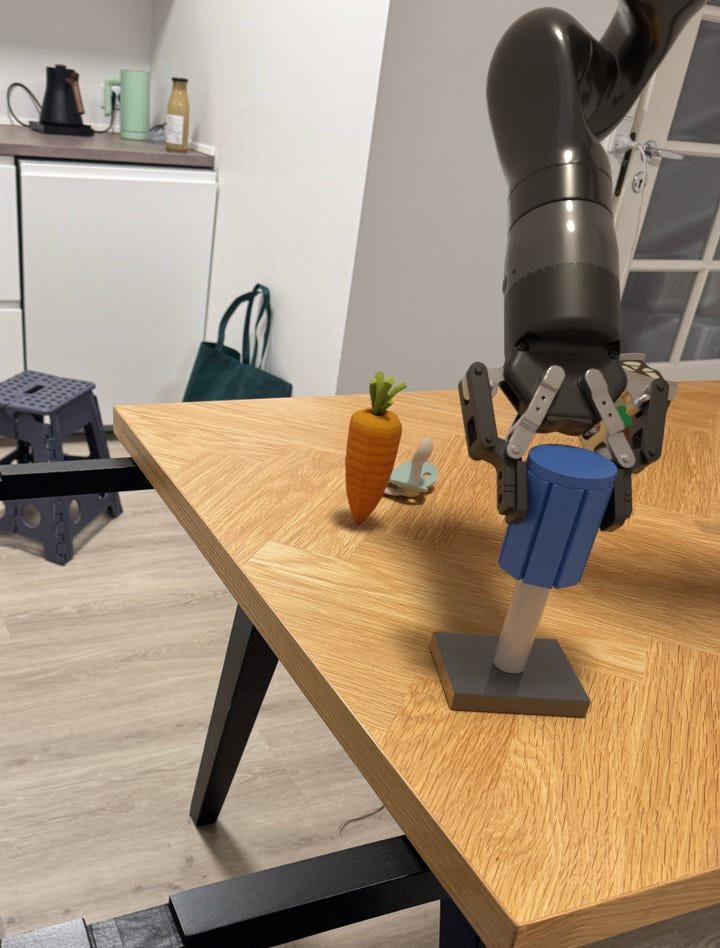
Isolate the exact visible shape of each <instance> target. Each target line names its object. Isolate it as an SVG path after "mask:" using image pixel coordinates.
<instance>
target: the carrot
mask: <svg viewBox="0 0 720 948" xmlns="http://www.w3.org/2000/svg"><path fill="white" fill-rule="evenodd" d="M384 379H385V380H384ZM395 381H396V379H394V378H393V377H392V376H387V377H386V378H385V372H383V371H377V372H375V375H374V378H372V379H370V380H369V385H368V387H369V388H368V389H369V396H370V402H371V407H365V408H363V409H359V410H356V411H355V412H353V413H352V415H351V417H350V420H349V426H348V433H347V441H346V449H345V459H344V471H345V472H344V473H345V475H344V476H345V477H344V478H345V491H346V497H347V502H348V506H349V509H350V513H351V515H352V519H353V521H354V522H355V523H356V524H357V525H361V524H363V523H364V522H366V520H367V519H368V518H369V517H370V516H371V514H373V512H374V511H375V510H376V508H377V506H378V505H379V503H380V502H381V500H382V498H383V496H384V494H385V493H384V491H385V489H386V487H388V484H389V483H390V482H389V479H390V477H391V474H392V471H393V469H395V464H396V460H397V456H398V451H399V447H400V444H401V439H402V434H403V425H402V422H401V420H400V418H399V416H398V414H397V413H395V412H393V411H390V410H388V409H389V408H390V407H391V406H393V405H394V401H393V400H392V399H393V398H394V397H395V396H396V395H397V394H398V393H399V392H401V391H403V390H405V389H406V388H408V385H407V383H405V382H401V383H399V384H397V385H396V386H394V387H393V385H394V383H395ZM392 387H393V388H392Z"/></svg>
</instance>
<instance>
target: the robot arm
mask: <svg viewBox="0 0 720 948" xmlns="http://www.w3.org/2000/svg"><path fill="white" fill-rule="evenodd" d="M706 1H707V2H710V1H711V0H617V7H616V10H615V12H614V15H613V16H612V18H611V20H610V22H609V24H608V26H607V27H606V30H605V31H604V33H603V35H602V36H601V37H600V39H599V40H598V39H597V38H596V37H595V36H594V35H593V34H591V32H589V31H588V30H587V28H586V27H585V26H584V25H583V24H582V23H581V22H579V20H578V19H577V18H576V17H575V16H573V15H572V14H571V13H569V12H567V11H565V10H564V9H561V8H557V7H553V6H543V7H538V8H535V9H531V10H529V11H527V12H526V13H523V14H522V15H520V16H519V17H518V18H517V19H516V20H515V21H513V22H512V23H511V24H510V26H508V28H507V29H506V30H505V31H504V33H503V34H502V36H501V38H500V39H499V41H498V42H497V44H496V46H495V48H494V51H493V53H492V55H491V58H490V61H489V65H488V68H487V69H488V70H487V73H486V74H487V75H486V80H485V81H486V82H485V102H486V103H485V105H486V112H487V117H488V122H489V126H490V130H491V135H492V138H493V143H494V147H495V150H496V155H497V158H498V159H497V160H498V162H499V165H500V169H501V171H502V174H503V176H504V177H503V178H504V180H505V184H506V189H507V196H506V197H507V198H506V222H507V223H506V230H507V231H506V235H507V239H506V250H505V256H504V262H503V279H502V285H501V292H502V296H503V356H504V363H503V366H502V367H491V368H490V367H489V368H488V367H487V365H486V364H485V363H483V362H481V361H474V362H472V363H471V365H470V366H469V367H468V369H467V370H466V371H465V373H464V374H463V375H462V377H461V378H460V379H459V381H458V384H457V389H458V397H459V404H460V409H461V416H462V422H463V423H462V424H463V428H464V429H463V430H464V435H465V441H466V442H465V443H466V449H467V454H468V457H469V458H470V459H471V460H472V461H474V462H480V461H483V462H485V463H488V464H490V465H492V467H493V468H494V469H495V472H496V509H497V512H498V514H499V515H500V516H504V522H505V524H506V525H507V524H514V525H517V524H519V523H520V522H521V521H522V520H524V519H525V518H526V516H527V513H528V473H527V461H526V460H523V457H524V456H525V454H526V452H527V450H528V448H529V446H530V444H531V442H532V440H533V438H534V436H535V434H542V435H543V434H544V435H547V434H552V433H553V434H554V433H559V434H562V435H564V436H567V437H568V436H569V437H577V438H578V440H579V442H580V445H581V446H582V448H584V449H587V450H590V451H593V452H596V453H598V454H600V455H602V456H604V457H606V458H608V459H609V460H611V461H612V462H613V463H614V464H615V465H616V467H617V474H616V477H615V479H614V482H613V484H614V487H613V490H612V493H611V496H610V499H609V501H608V504H607V507H606V510H605V513H604V516H603V518H602V521H601V524H600V527H599V531H600V532H606V533H613V532H616V531H617V530H618V529H620V528H621V527H623V526H624V525H625V523H626V520H628V519H630V518H631V516H632V513H633V511H634V510H633V483H632V474H633V475H637V474H640V473H641V472H642V471H644V470H645V469H646V468H648V467H649V466H650V465H651V464H653V463H656V461H658V460H659V459H660V458H661V457H662V452H663V444H664V436H665V428H666V419H667V412H668V410H667V403H668V394H669V384H668V382H667V381H666V380H667V379H665V378H664V379H662V378H657V379H655V380H654V381H652V382H651V383H644V382H640V381H636V380H631V379H627V375H626V373H625V371H624V369H623V367H622V365H621V363H620V354H621V349H622V310H621V279H620V278H621V277H620V254H619V244H618V239H617V234H616V230H615V221H614V220H615V217H614V184H613V173H612V172H613V171H612V165H611V161H610V158H609V155H608V153H607V151H606V149H605V147H604V146H603V144H602V143H601V142H603V141H605V140H606V139H607V138H608V137H609V136H610V135H611V134H612V133H613V132H614V131H615V130H616V129H617V127H618V126H620V124H621V123H622V122H623V121H624V119H625V118H626V116H627V115H628V113H630V111H631V109H632V108H633V107H634V105H635V103H636V102H637V101H638V99H639V98H640V96H641V95H642V93H643V92H644V90H645V88H646V86H648V84H649V83H650V81H651V79H652V78H653V76H654V75H655V74H656V72H657V71H658V69H659V67H660V66H661V65H662V64H663V62H664V60H665V59H666V57H667V56H668V55H669V53H670V51H671V50H672V48H673V46H674V45H675V43H676V42H677V40H678V38H680V35H681V34H682V33H683V31H684V30H685V28H686V26H687V25H688V24H689V22H691V20H692V19H693V18H694V17H695V16H696V15H697V14H698V13H699V12H700V11H701V10H702V9H703V8H704V7H705V6H707V2H706ZM498 388H499V390H501V392H502V394H503V395H504V396H505V398H506V399H507V400H508V402H509V403H510V405H511V406H512V407H513V409H514V410H515V412H516V414H515V416H514V418H513V420H512V421H511V424H510V426H509V428H508V430H507V432H506V434H505V436H504V438H501V437H499V435H498V428H497V421H496V415H495V409H494V403H493V398H495V396H496V395H497V394H498ZM619 397H621V398H622V399H623V400H624V401H625V403H626V409H627V410H626V414H627V415H629V416H631V415H632V417H631V425H630V433H629V440H628V441H627V439H626V437H625V435H624V430H625V425H624V422H623V420H622V418H621V416H620V414H619V412H618V410H617V408H616V406H615V404H614V403H615V402H616V401H617V400H618V398H619ZM666 411H667V412H666ZM598 423H600V429H599V431H598V430H597V424H598Z"/></svg>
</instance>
